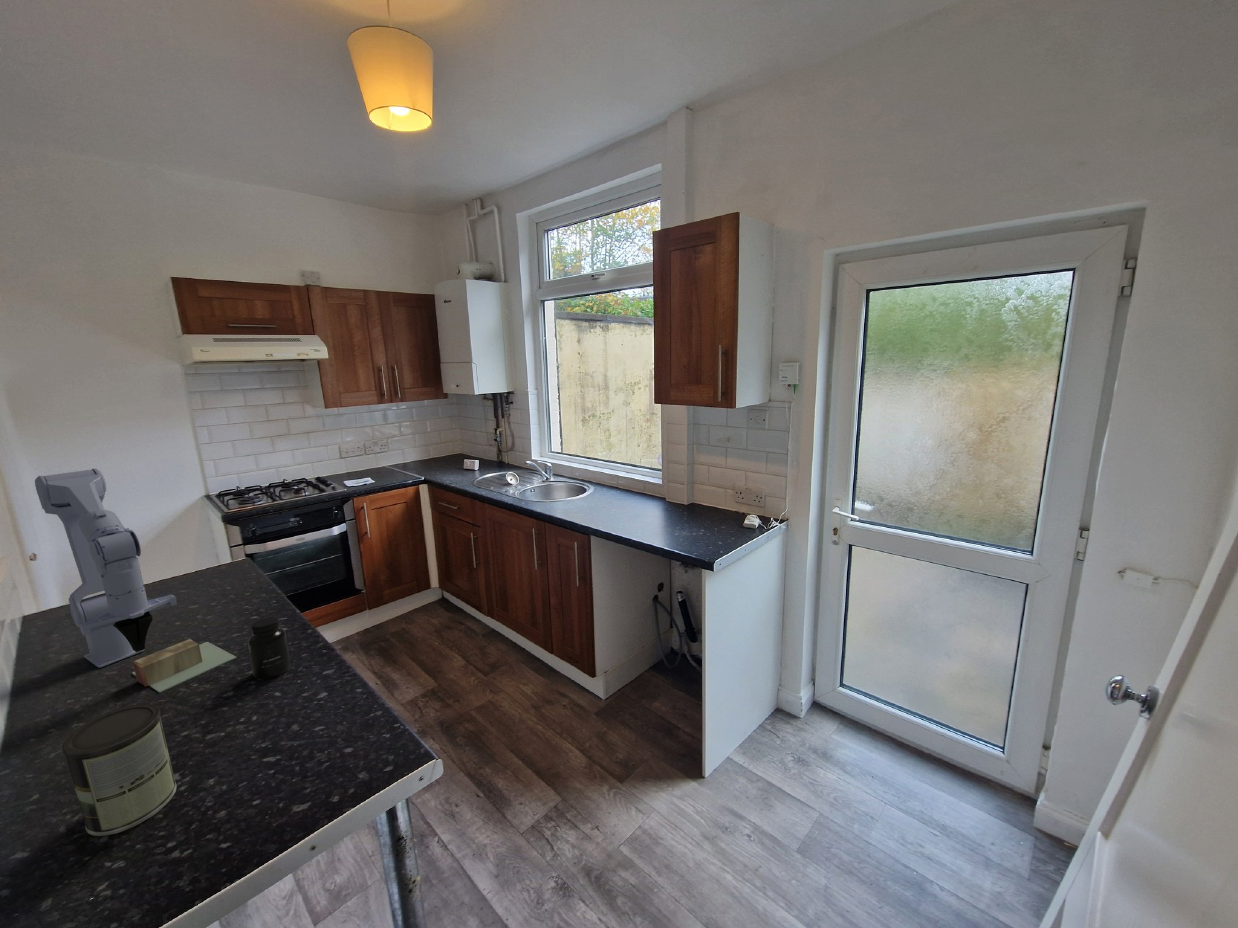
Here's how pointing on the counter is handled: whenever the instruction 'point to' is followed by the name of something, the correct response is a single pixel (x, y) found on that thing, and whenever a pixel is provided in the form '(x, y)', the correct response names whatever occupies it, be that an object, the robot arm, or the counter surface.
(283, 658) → the supplement bottle
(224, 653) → the mat
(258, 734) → the counter surface
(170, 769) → the coffee can
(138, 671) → the maple block
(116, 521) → the robot arm
